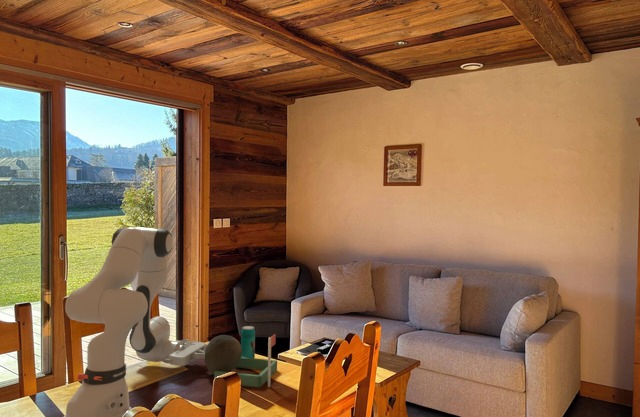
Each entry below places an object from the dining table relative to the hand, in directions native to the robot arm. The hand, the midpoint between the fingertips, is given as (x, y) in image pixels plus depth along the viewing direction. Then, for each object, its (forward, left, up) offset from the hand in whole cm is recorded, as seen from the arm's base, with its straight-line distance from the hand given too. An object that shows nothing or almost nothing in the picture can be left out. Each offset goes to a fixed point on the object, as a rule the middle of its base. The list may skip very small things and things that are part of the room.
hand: (207, 355), depth 199 cm
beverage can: (+15, -11, -7) cm, 20 cm away
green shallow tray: (0, -19, -7) cm, 20 cm away
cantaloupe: (-1, -7, -7) cm, 10 cm away
